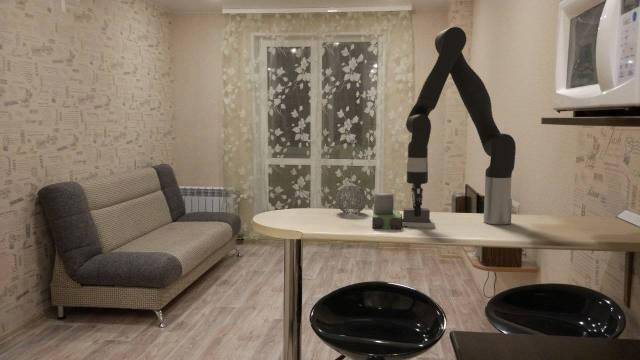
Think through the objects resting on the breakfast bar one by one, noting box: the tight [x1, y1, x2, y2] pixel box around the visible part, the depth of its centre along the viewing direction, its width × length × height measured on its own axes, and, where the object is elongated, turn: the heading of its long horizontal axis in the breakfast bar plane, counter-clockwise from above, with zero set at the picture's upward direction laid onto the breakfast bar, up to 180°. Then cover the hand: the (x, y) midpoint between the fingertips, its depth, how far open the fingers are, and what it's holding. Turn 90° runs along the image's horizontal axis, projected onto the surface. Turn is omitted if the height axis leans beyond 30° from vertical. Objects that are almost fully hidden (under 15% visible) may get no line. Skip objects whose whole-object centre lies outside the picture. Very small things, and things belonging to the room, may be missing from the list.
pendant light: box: [335, 139, 367, 215], centre depth 217 cm, size 12×12×30 cm
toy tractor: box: [371, 192, 436, 230], centre depth 194 cm, size 22×18×11 cm
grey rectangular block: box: [402, 207, 431, 223], centre depth 194 cm, size 9×5×6 cm, turn 85°
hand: (416, 214), depth 194 cm, fingers open, 8 cm apart
